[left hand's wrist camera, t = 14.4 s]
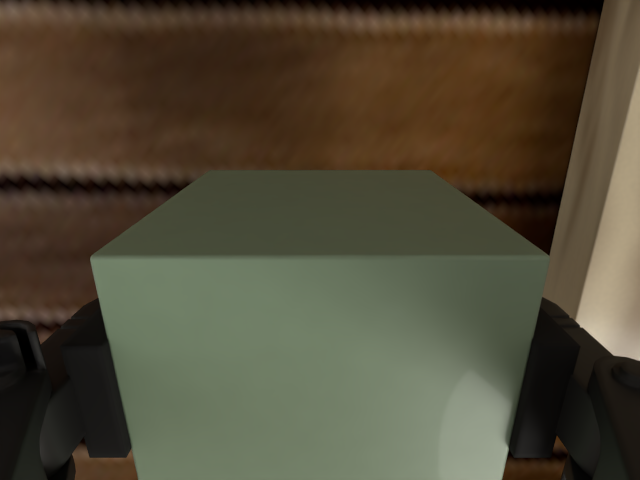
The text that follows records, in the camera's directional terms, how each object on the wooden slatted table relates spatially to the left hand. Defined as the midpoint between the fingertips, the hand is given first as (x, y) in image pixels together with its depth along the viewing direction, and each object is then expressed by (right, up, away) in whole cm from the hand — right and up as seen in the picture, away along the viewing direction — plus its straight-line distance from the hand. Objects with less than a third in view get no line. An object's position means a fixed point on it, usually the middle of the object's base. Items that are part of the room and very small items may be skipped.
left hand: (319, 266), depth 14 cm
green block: (0, +1, +2) cm, 2 cm away
